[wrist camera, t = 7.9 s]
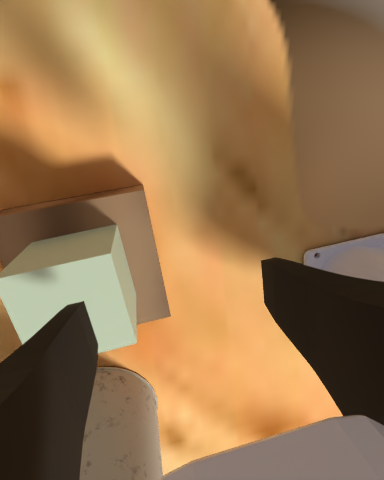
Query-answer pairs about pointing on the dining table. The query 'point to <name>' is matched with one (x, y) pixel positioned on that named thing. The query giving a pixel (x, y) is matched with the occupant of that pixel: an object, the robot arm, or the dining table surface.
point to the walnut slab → (91, 217)
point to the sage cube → (73, 285)
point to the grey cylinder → (121, 429)
